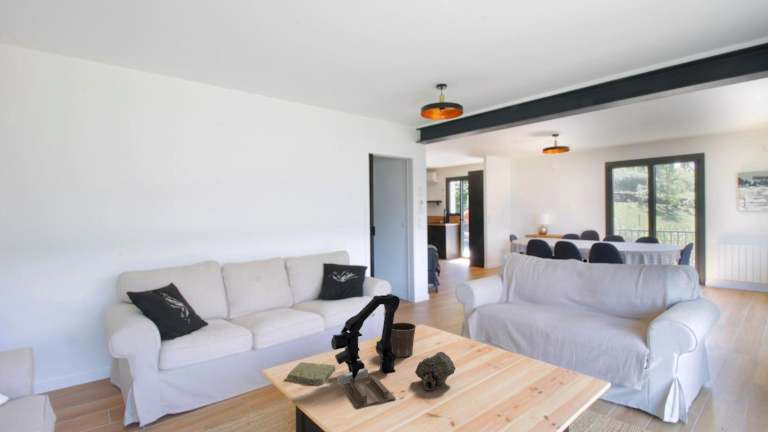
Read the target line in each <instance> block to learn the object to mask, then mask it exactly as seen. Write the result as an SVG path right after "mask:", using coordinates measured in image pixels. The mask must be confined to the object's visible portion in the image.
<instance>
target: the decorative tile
mask: <svg viewBox="0 0 768 432" xmlns="http://www.w3.org/2000/svg"><path fill="white" fill-rule="evenodd" d="M335 371H336V365H334V364H325V363H315V362H314V363H313V362H304V361H303V362H299V363H298V364H297V365H296V366H295V367H294V368H293V369H291V370H290V372H289V373H288V374H287V376H286V381H288V382H298V383H303V384H307V385H308V384H309V385H310V384H311V385H320V386H323V385H324V384H325V383H326V382H327V381H328V380H329V379H330V378H331V376H332V375H333V373H334V372H335Z"/></svg>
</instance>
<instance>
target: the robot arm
mask: <svg viewBox="0 0 768 432" xmlns="http://www.w3.org/2000/svg"><path fill="white" fill-rule="evenodd" d="M400 302H401V301H400V297H399V296H398V295H395V294H392V293H387V294H385V295H384V294H380V295H374V296H373V297H372V299H371V300H370V301H369V302H368V303H367V304H366V305H365V306H364V307H363V308H362V309H361V310H360V311H358V313H357V314H356V315H353V316H352V317H350V318H348V319H347V320H346V321H345V323H344V326H343V327H342V329H341V331H340V333H339V334H333V335H332V338H331V341H330V345H331V348H332V349H333V351H335V350H336V351H337V350H342V349H344V351H340V352H338V353H337V354H335V355H334V358H335V359H336V363H337V364H338V365H341V364H343V363H345V364H346V365H347V367H348V371H349V372H352V377H353V379H355V378H356V376H357V374H358V371H359V370H360V369H364V368H365V363H364V361H362V360H360V359H361V358H360V356H359V351H360V350H361V349H360V348H359V337H362V336H363V334H362V333H361V332H360V330H361V329H362V327H363V325H364V323H365V321H366V320H367V319H368V318H369V317H370V316H371V315H372V314H373V312H375V311H376V310H377V309H378V307H380V305H383V307H384V310H385V313H384V320H383V327H382V331H381V336H380V337H381V338H380V340H379V341H378V340H376V346H375V349H376V350H375V351H376V353H377V354H378V356H379V358H380V361H379V370H380V371H381V372H382V373H383V374H391V373H394V372H396V369H395V361H396V360H397V357H396V355H394V354H393V353H392V344H391V334H392V327H393V323H394V320H395V319H394V318H395V313H396V311H397V310H398V308H399V306H400ZM349 372H348V373H349Z"/></svg>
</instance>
